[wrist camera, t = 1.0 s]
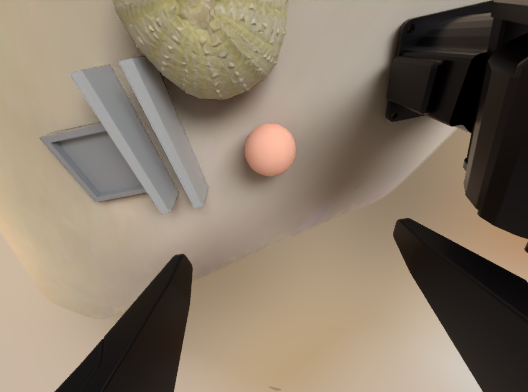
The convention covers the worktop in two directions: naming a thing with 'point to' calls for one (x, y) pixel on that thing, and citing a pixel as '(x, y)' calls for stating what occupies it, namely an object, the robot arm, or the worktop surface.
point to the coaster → (94, 161)
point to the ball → (270, 149)
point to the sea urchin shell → (208, 41)
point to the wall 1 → (127, 132)
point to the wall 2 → (166, 125)
